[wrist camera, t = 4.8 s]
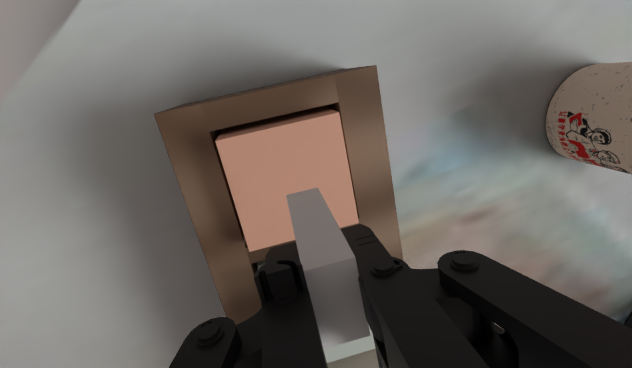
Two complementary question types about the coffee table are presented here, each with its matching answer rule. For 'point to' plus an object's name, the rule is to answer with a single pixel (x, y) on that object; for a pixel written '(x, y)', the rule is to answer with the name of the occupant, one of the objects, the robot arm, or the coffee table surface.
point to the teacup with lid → (594, 116)
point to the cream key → (357, 361)
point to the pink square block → (286, 171)
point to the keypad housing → (213, 189)
